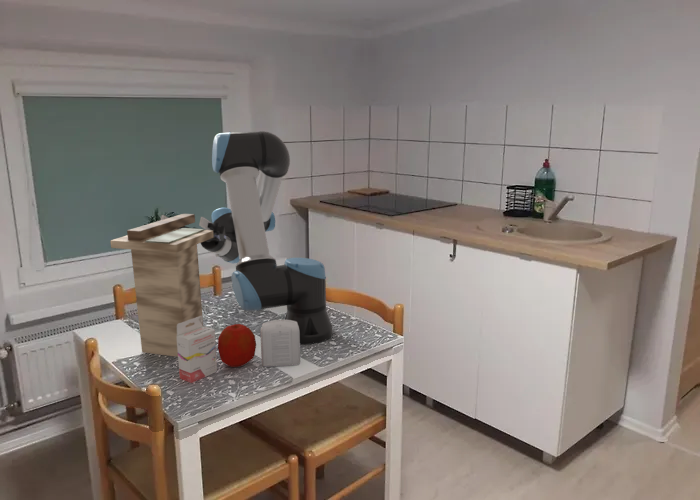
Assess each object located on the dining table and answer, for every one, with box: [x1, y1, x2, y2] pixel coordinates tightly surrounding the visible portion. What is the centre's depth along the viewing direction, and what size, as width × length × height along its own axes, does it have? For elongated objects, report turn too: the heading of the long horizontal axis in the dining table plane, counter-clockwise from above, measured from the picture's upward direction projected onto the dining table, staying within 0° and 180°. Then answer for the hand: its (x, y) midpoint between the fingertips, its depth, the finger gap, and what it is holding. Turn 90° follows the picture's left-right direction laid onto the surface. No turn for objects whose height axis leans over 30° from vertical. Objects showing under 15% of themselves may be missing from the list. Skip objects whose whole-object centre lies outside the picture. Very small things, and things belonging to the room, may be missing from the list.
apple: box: [217, 323, 257, 368], centre depth 149 cm, size 10×10×12 cm
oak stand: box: [110, 227, 214, 358], centre depth 157 cm, size 18×20×33 cm
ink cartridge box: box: [176, 316, 218, 384], centre depth 142 cm, size 9×5×15 cm, turn 144°
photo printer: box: [260, 319, 301, 367], centre depth 149 cm, size 10×4×12 cm, turn 98°
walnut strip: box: [126, 213, 196, 241], centre depth 160 cm, size 26×4×2 cm, turn 163°
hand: (181, 220), depth 169 cm, fingers open, 13 cm apart
